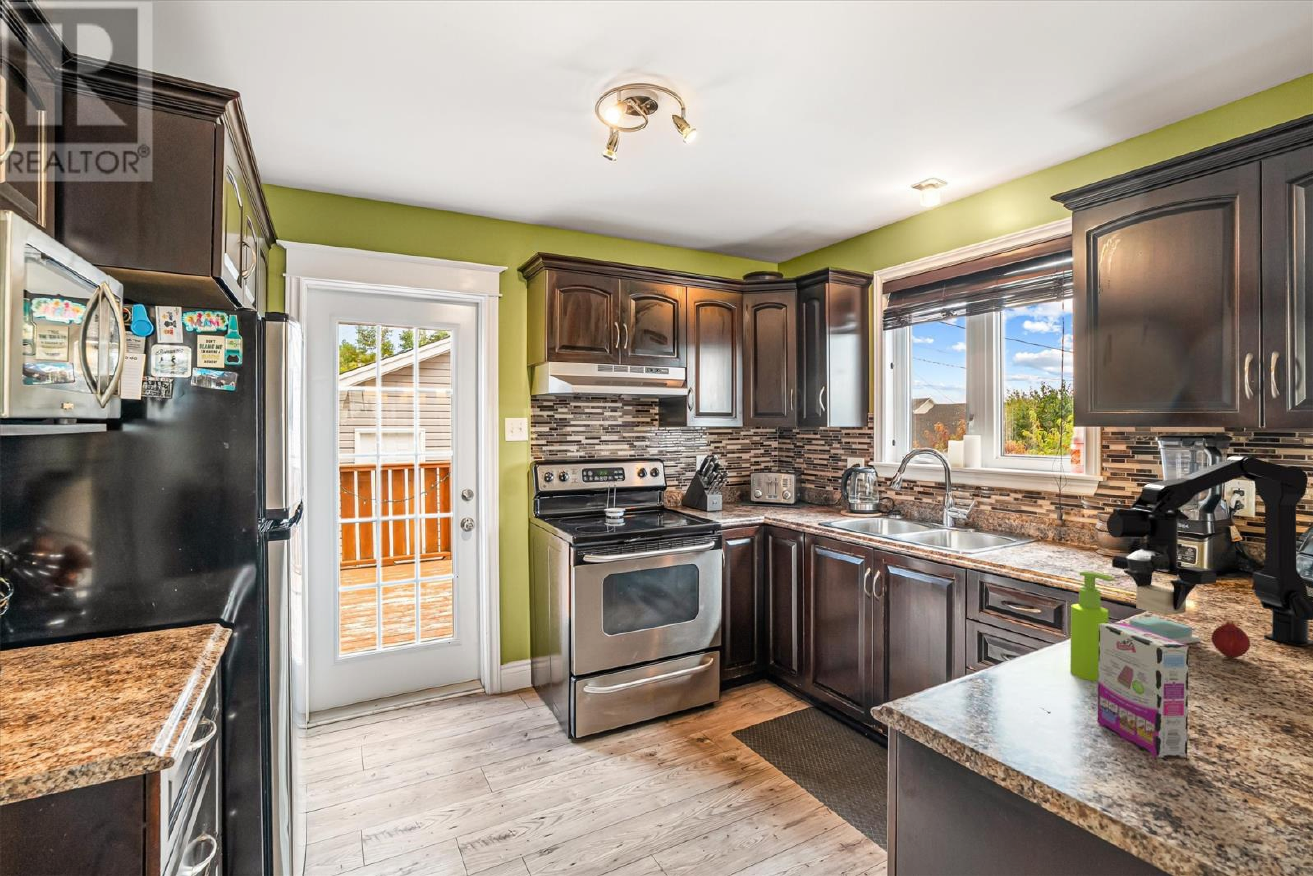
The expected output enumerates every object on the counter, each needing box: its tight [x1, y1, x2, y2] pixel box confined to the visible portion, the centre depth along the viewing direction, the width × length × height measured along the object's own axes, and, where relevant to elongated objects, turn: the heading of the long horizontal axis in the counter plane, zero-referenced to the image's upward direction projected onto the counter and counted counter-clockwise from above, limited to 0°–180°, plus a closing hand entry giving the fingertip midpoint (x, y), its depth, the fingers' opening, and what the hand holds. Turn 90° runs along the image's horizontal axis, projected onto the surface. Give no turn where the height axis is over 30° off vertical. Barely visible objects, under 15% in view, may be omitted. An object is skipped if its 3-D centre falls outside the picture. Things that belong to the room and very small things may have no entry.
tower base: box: [1129, 616, 1201, 645], centre depth 140 cm, size 10×10×3 cm
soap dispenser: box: [1070, 570, 1116, 682], centre depth 117 cm, size 6×7×20 cm
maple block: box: [1136, 583, 1187, 616], centre depth 140 cm, size 7×6×5 cm
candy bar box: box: [1097, 622, 1190, 759], centre depth 93 cm, size 11×5×16 cm, turn 5°
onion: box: [1211, 619, 1251, 660], centre depth 127 cm, size 6×6×8 cm
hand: (1160, 605), depth 140 cm, fingers closed on maple block, 6 cm apart
